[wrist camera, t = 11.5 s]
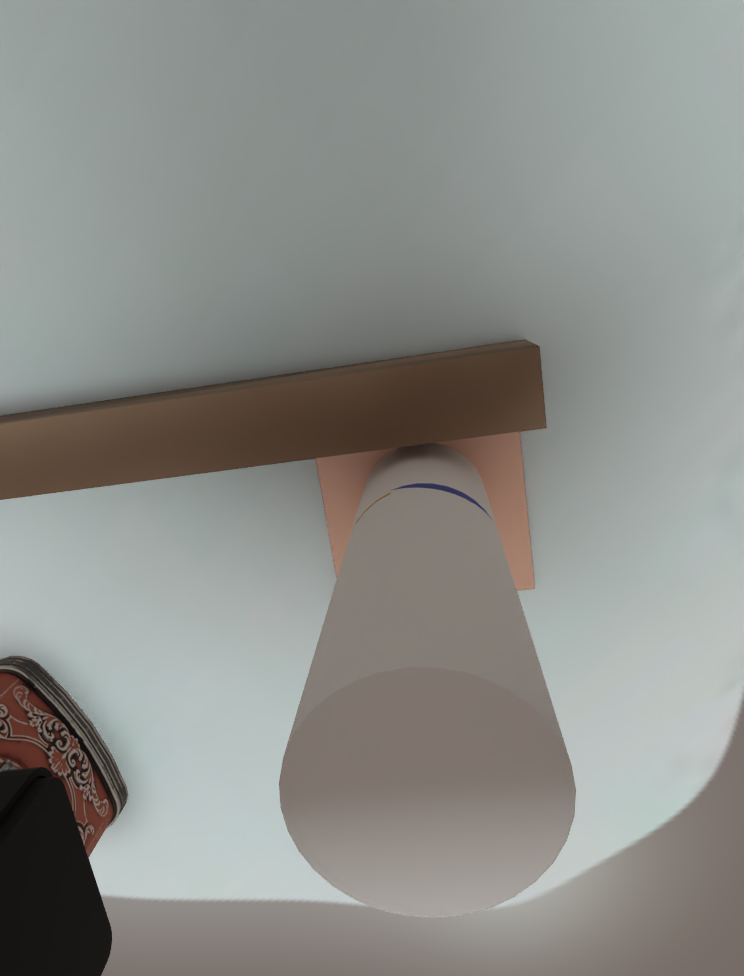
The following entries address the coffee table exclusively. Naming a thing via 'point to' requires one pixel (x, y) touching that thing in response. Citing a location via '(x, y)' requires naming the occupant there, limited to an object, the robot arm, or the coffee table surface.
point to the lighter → (58, 745)
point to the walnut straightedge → (274, 420)
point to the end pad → (496, 468)
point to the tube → (426, 708)
